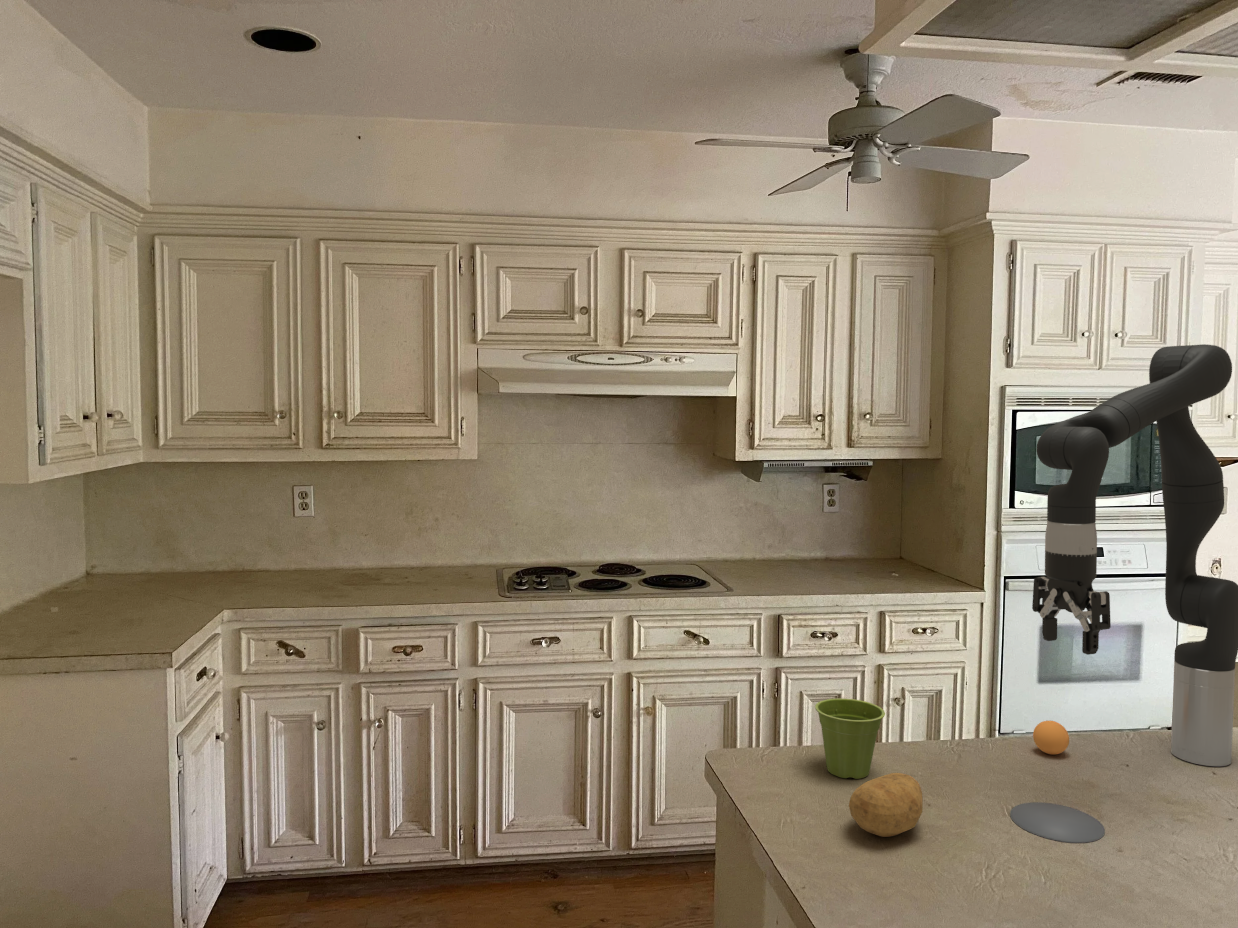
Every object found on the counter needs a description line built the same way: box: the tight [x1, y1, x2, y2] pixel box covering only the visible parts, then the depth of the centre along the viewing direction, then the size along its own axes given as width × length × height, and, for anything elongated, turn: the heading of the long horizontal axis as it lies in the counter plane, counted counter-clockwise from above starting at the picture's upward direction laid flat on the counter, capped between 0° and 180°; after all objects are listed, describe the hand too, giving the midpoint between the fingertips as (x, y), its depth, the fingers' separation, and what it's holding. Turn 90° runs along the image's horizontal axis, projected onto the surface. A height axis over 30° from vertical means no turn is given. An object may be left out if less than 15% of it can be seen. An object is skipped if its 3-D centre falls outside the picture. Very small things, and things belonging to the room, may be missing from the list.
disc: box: [1009, 801, 1105, 844], centre depth 135 cm, size 13×13×1 cm
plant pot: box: [814, 697, 886, 780], centre depth 153 cm, size 12×12×11 cm
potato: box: [848, 772, 924, 838], centre depth 132 cm, size 10×14×8 cm
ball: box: [1032, 720, 1070, 755], centre depth 162 cm, size 6×6×6 cm
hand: (1069, 646), depth 144 cm, fingers open, 8 cm apart
